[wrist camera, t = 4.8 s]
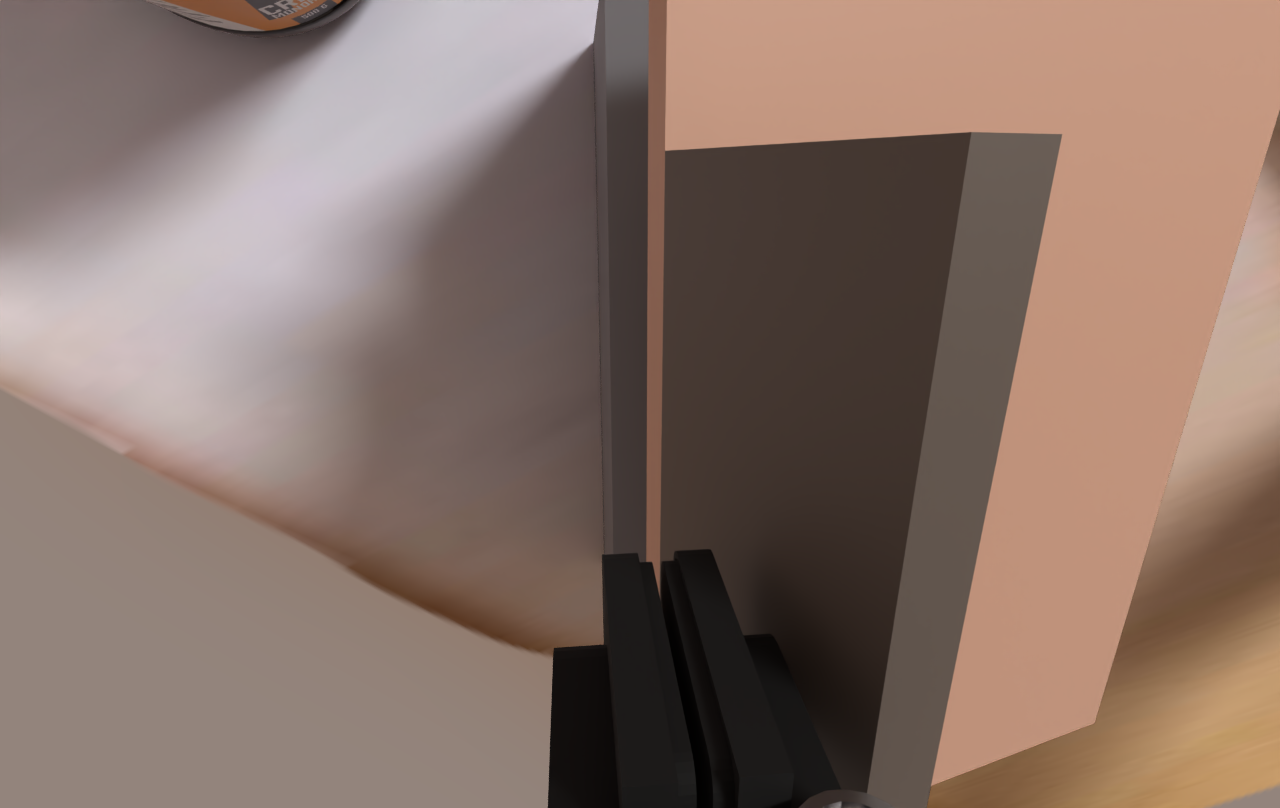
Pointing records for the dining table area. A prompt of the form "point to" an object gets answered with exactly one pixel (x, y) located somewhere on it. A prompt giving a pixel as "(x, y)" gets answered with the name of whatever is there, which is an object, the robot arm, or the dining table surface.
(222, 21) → the supplement container
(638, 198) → the carton
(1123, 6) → the lid
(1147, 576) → the dining table surface
